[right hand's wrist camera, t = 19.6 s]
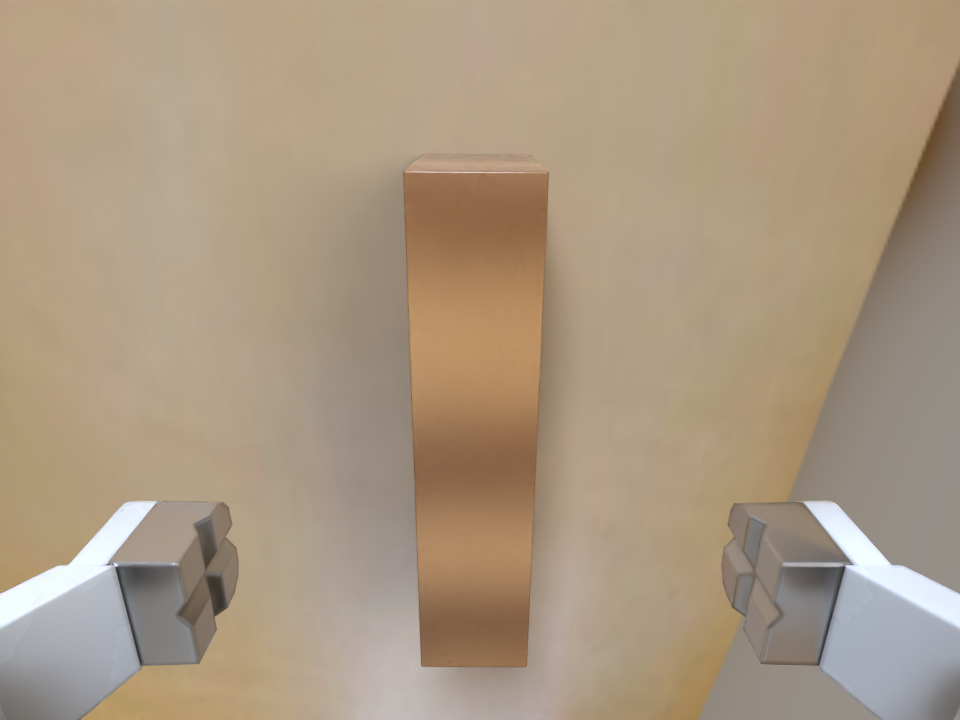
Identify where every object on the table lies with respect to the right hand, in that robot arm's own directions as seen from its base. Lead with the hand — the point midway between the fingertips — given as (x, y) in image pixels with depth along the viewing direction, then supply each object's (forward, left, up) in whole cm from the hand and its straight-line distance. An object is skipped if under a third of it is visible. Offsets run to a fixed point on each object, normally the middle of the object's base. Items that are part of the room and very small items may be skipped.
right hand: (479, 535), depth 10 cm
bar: (+5, +5, -22) cm, 24 cm away
